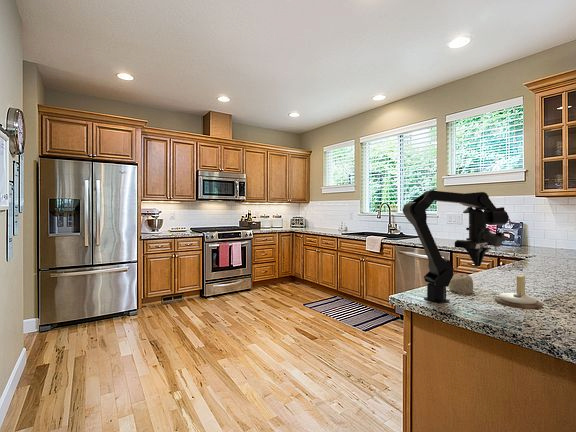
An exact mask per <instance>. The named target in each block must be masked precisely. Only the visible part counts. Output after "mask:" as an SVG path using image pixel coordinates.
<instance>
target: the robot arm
mask: <svg viewBox="0 0 576 432" xmlns="http://www.w3.org/2000/svg"><path fill="white" fill-rule="evenodd" d="M434 202H441V203H452V204H460V205H462V206H465V207H466V209H465V210H463V212H462V213H463V214H468V227H466V229H465V230H466V231H468V237H467V238H466V239H456V240H455V241H454V248H460V249H464V250H466V252H467V254H468V256H469V258H471V261H472V263H473V264H474V266H475V267H478V266H479V267H481V265H482V263H483V259H484V257H485V254H486V253H487V252H488V251H490V250H491V249H492V247H489V246H493V247H495V248H497V247H501V245H502V243H503V242H505V241H506V236H505V233H504V232H502V231H497V232H496V233H495V232H491V230H490V227H487V226H488V225H489V226H505V225H507V223H508V222H509V221H510V220H509V219H510V215H509V214H508V212H507V211H506V210H505V207H504V206H503V207H499V206H495V204H494V203H493V202H492V200H491V199H490V196H489V195H488V193H487V192H485V191H479V192H478V191H477V192H469V193H468V192H467V193H462V192H461V193H460V192H453V191H452V192H450V191H441V190H435V189H431V190H426V191H424V192H423V193H422V194H421V195H419V196H418V197H416V198H414V199H413V200H411V202H407V203H405V204H404V205H403V207H402V213H403V215H404V216H405V218H406V219H407V220H408V222H409V223H410V224H411V225H412V226H413V227H414V230H415V233H417V237H418V239H419V241H420V243H421V245H422V247H423V250H424V252H425V255H426V257H427V258H428V270H429V271H427V273H426V274H425V275H424V276H423V280H424V282H425V283H427V284H426V290H427V291H426V297H425V296H424V297H423V299H424V300H426V301H430V302H432V303H435V304H436V303H437V304H442V303H446V302H447V303H448V302H450V299H447V287H448V288H449V284H450V281H451V279H452V277H453V276H454V275H455V273H454V271H455V268H453V265H452V262H451V260H450V259H449V258H444V257H443V256H442V255H441V252H440V250H439V247H438V246H437V243H436V241H435V239H434V237H433V234H432V232H431V229H430V228H429V225H428V223H427V216H428V215H427V209H429V208H430V206H431V205H432V204H433V203H434Z"/></svg>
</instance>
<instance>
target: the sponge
mask: <svg viewBox="0 0 576 432" xmlns="http://www.w3.org/2000/svg"><path fill="white" fill-rule="evenodd" d="M448 289H449V291H450V290H451V291H450V292H453V291H454V292H455V293H458V294H472V292H473V293H474V281H473V278H472V277H471V275H469V274H467V273H456V274H454V276H453V277H452V279H451V281H450V283H449V286H448Z"/></svg>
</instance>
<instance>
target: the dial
mask: <svg viewBox="0 0 576 432" xmlns="http://www.w3.org/2000/svg"><path fill="white" fill-rule="evenodd" d="M498 296H499V298H500V299H501V300H504V301H507V302H512V303H518V304H536V303H537V301H538V299H537V297H535V296H531V295H529V294H526V275H525V274H519V275H516V292H500V293H499V295H498Z"/></svg>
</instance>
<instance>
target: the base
mask: <svg viewBox="0 0 576 432" xmlns="http://www.w3.org/2000/svg"><path fill="white" fill-rule="evenodd" d="M494 302H496V303H498V304H500V305H504V306H507V307H510V308H511V307H512V308H518V309H529V310H530V309H531V310H532V309H533V310H535V309H537V310H538V309H541V308H543V303H542V302H541V301H539V300H537V303H536V304H518V303H512V302H507V301H504V300H501V299H500V298H499V295H495V296H494Z"/></svg>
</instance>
